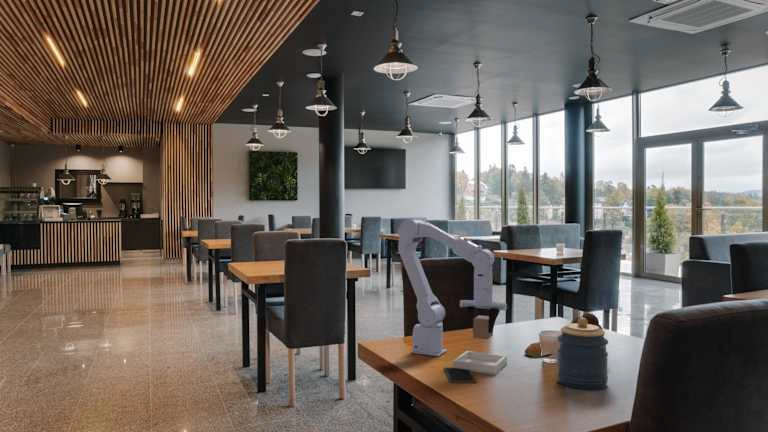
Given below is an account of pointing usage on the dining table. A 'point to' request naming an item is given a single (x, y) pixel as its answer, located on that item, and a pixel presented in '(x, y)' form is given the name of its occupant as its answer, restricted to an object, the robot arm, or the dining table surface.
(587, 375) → the canister
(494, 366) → the bin
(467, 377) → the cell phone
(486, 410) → the dining table surface
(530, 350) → the pastry
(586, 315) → the ice cream bowl
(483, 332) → the beige block
